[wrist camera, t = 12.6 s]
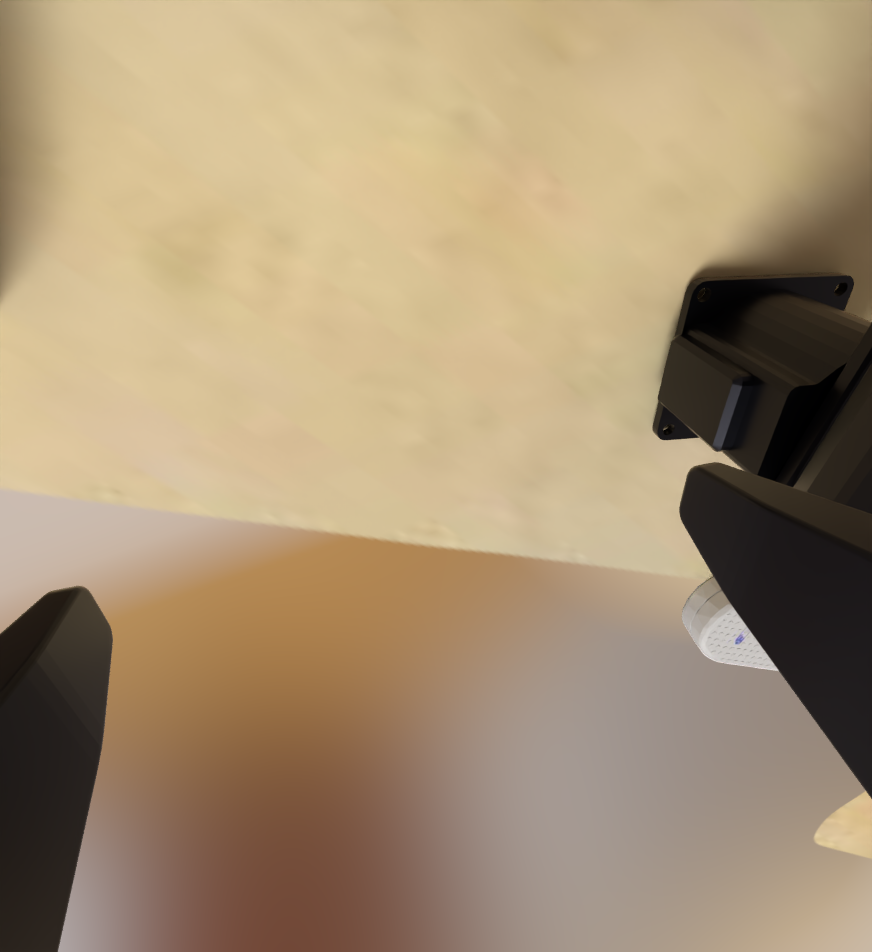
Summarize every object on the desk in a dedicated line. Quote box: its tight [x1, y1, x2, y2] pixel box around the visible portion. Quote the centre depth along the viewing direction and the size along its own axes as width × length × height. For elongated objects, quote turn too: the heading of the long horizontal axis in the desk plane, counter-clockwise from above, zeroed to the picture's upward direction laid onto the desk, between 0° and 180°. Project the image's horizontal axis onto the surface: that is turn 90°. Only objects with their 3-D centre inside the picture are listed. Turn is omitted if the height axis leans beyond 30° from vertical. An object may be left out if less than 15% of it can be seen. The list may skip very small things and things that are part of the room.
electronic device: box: [682, 577, 779, 671], centre depth 29 cm, size 5×10×15 cm
